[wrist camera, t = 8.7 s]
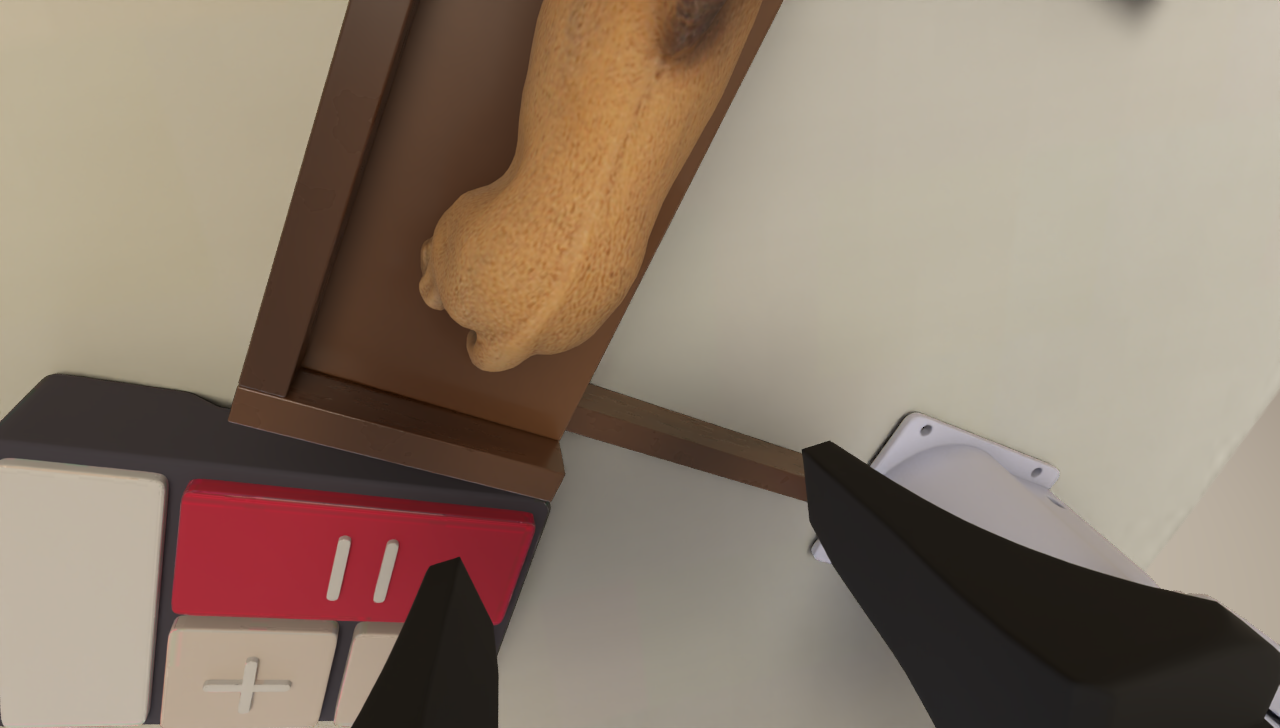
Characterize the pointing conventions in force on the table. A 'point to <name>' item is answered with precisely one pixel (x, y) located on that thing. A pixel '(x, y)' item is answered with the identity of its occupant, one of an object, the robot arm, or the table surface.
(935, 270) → the table surface
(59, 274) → the table surface
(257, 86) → the table surface
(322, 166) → the rack
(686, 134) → the lion figurine
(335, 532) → the calculator
